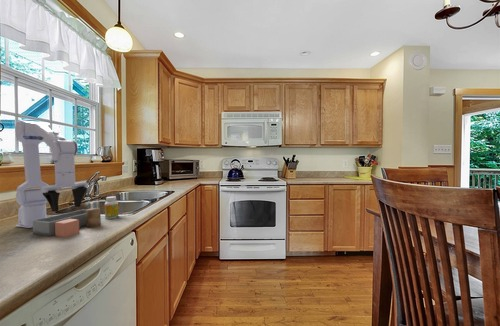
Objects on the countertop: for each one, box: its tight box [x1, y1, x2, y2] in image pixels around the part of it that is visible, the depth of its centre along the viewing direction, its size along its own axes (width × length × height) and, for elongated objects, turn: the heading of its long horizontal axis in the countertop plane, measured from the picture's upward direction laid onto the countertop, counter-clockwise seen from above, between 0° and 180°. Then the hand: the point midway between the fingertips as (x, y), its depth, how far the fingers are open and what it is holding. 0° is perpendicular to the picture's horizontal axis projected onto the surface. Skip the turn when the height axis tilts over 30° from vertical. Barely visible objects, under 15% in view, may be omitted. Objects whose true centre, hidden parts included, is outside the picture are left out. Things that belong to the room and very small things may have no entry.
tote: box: [32, 209, 87, 237], centre depth 91 cm, size 9×18×5 cm, turn 161°
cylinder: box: [85, 207, 102, 229], centre depth 93 cm, size 5×5×7 cm
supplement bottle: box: [104, 195, 119, 220], centre depth 105 cm, size 5×5×10 cm
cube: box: [54, 219, 80, 238], centre depth 83 cm, size 5×5×5 cm
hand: (66, 208), depth 83 cm, fingers open, 7 cm apart
